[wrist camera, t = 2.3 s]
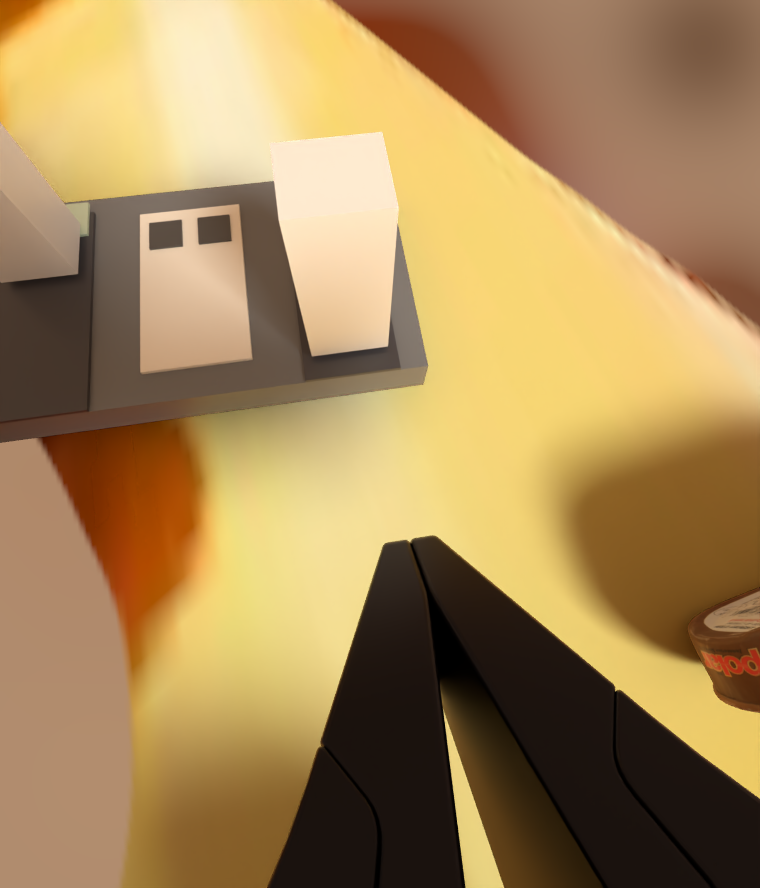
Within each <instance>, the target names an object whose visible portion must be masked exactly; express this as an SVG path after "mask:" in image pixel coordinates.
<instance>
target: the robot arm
mask: <svg viewBox="0 0 760 888" xmlns="http://www.w3.org/2000/svg"><path fill="white" fill-rule="evenodd" d="M443 709H444V712H445V715H446V718H447V721H448V724H449V727H450V730H451V733H452V736H453V739H454V742H455V745H456V747H457V750H458V753H459V756H460V759H461V762H462V765H463V768H464V771H465V774H466V777H467V780H468V783H469V786H470V789H471V791H472V794H473V797H474V800H475V803H476V806H477V809H478V812H479V815H480V818H481V821H482V824H483V827H484V830H485V833H486V835H487V838H488V841H489V844H490V847H491V850H492V853H493V856H494V859H495V862H496V865H497V868H498V871H499V874H500V877H501V879H502V882H503V885H504V888H760V799H759V798H758V797H757V796H755V795H754V794H752V793H751V792H750V791H748V790H747V789H746V788H744V787H743V786H742V785H740V784H739V783H738V782H736V781H735V780H734V779H732V778H731V777H730V776H728V775H727V774H726V773H724V772H723V771H721V770H720V769H719V768H717V767H716V766H715V765H713V764H712V763H711V762H709V761H708V760H707V759H705V758H704V757H703V756H701V755H700V754H699V753H697V752H696V751H695V750H694V749H692V748H691V747H690V746H689V745H687V744H686V743H685V742H684V741H682V740H681V739H680V738H679V737H677V736H676V735H675V734H674V733H672V732H671V731H670V730H669V729H667V728H666V727H665V726H664V725H662V724H661V723H660V722H659V721H657V720H656V719H655V718H654V717H652V716H651V715H650V714H649V713H648V712H646V711H645V710H644V709H643V708H642V707H640V706H639V705H638V704H637V703H636V702H634V701H633V700H632V699H631V698H630V697H628V696H627V695H626V694H625V693H624V692H622V691H621V690H617V691H616V692H615V686H614V684H613V683H611V682H610V681H609V680H608V679H607V678H605V677H604V676H603V675H602V674H601V673H599V672H598V671H597V670H596V669H595V668H593V667H592V666H591V665H590V664H589V663H587V662H586V661H585V660H584V659H583V658H581V657H580V656H579V655H578V654H577V653H575V652H574V651H573V650H572V649H571V648H569V647H568V646H567V645H566V644H565V643H564V642H562V641H561V640H560V639H559V638H558V637H556V636H555V635H554V634H553V633H552V632H550V631H549V630H548V629H547V628H546V627H544V626H543V625H542V624H541V623H540V622H538V621H537V620H536V619H535V618H534V617H532V616H531V615H530V614H529V613H528V612H526V611H525V610H524V609H523V608H522V607H521V606H519V605H518V604H517V603H516V602H515V601H513V600H512V599H511V598H510V597H509V596H507V595H506V594H505V593H504V592H503V591H501V590H500V589H499V588H498V587H497V586H495V585H494V584H493V583H492V582H491V581H489V580H488V579H487V578H486V577H485V576H483V575H482V574H481V573H480V572H479V571H477V570H476V569H475V568H474V567H473V566H472V565H470V564H469V563H468V562H467V561H466V560H464V559H463V558H462V557H461V556H460V555H458V554H457V553H456V552H455V551H454V550H452V549H451V548H450V547H449V546H448V545H446V544H445V543H444V542H443V541H442V540H440V539H439V538H438V537H436V536H426V537H419V538H414V539H412V540H411V542H409V541H407V540H401V541H394V542H388V543H385V544H384V545H383V547H382V550H381V553H380V556H379V560H378V563H377V566H376V569H375V572H374V575H373V578H372V581H371V585H370V588H369V591H368V594H367V597H366V600H365V603H364V606H363V610H362V613H361V616H360V619H359V622H358V625H357V628H356V631H355V635H354V638H353V641H352V644H351V647H350V650H349V653H348V656H347V660H346V663H345V666H344V669H343V672H342V675H341V678H340V681H339V685H338V688H337V691H336V694H335V697H334V700H333V703H332V706H331V710H330V713H329V716H328V719H327V722H326V725H325V728H324V731H323V735H322V738H321V746H322V747H319V748H318V749H317V752H316V755H315V758H314V762H313V765H312V768H311V771H310V774H309V777H308V780H307V783H306V786H305V789H304V792H303V795H302V798H301V800H300V803H299V806H298V809H297V812H296V815H295V817H294V820H293V823H292V826H291V829H290V832H289V834H288V837H287V840H286V842H285V845H284V847H283V850H282V852H281V855H280V857H279V860H278V862H277V865H276V867H275V869H274V872H273V874H272V877H271V879H270V882H269V884H268V887H267V888H465V880H464V872H463V864H462V856H461V848H460V841H459V833H458V825H457V817H456V809H455V801H454V793H453V785H452V777H451V769H450V761H449V753H448V745H447V737H446V729H445V721H444V713H443Z"/></svg>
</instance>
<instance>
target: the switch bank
mask: <svg viewBox="0 0 760 888" xmlns="http://www.w3.org/2000/svg"><path fill="white" fill-rule="evenodd" d="M64 204H65V205H66V206H67V208H68V209H69V210H70V211H71V213H72V214H73V215H74V217H75V218H76V219H77V220H78V222H79V223H80V242H79V264H78V274H75V275H66V276H57V277H48V278H40V279H31V280H22V281H13V282H5V283H1V282H0V443H2V442H9V441H16V440H23V439H31V438H38V437H45V436H52V435H60V434H67V433H74V432H81V431H89V430H96V429H103V428H111V427H118V426H125V425H132V424H140V423H147V422H154V421H161V420H169V419H176V418H183V417H190V416H198V415H205V414H212V413H219V412H227V411H234V410H241V409H248V408H256V407H263V406H270V405H277V404H285V403H292V402H299V401H306V400H314V399H321V398H328V397H335V396H343V395H350V394H357V393H364V392H372V391H379V390H386V389H393V388H401V387H408V386H415V385H422V384H423V383H424V380H425V376H426V372H427V368H428V363H427V359H426V354H425V349H424V345H423V340H422V335H421V330H420V326H419V321H418V316H417V312H416V307H415V302H414V298H413V293H412V288H411V284H410V279H409V274H408V270H407V265H406V260H405V256H404V251H403V246H402V241H401V237H400V232H399V227H398V223H397V235H396V248H395V261H394V274H393V287H392V300H391V313H390V326H389V339H388V347H380V348H373V349H365V350H358V351H350V352H342V353H335V354H327V355H319V356H312V355H311V351H310V347H309V342H308V338H307V334H306V330H305V326H304V322H303V318H302V314H301V310H300V306H299V302H298V297H297V293H296V289H295V285H294V281H293V277H292V273H291V269H290V265H289V261H288V256H287V252H286V248H285V244H284V240H283V236H282V232H281V228H280V224H279V218H278V210H277V201H276V193H275V184H274V181H272V182H262V183H252V184H243V185H233V186H223V187H214V188H204V189H194V190H185V191H175V192H166V193H156V194H146V195H137V196H127V197H117V198H108V199H98V200H89V201H79V202H69V203H64Z"/></svg>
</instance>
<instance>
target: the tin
mask: <svg viewBox="0 0 760 888" xmlns="http://www.w3.org/2000/svg"><path fill="white" fill-rule="evenodd" d="M688 633H689V636H690V639H691V641H692V643H693V646H694V648H695V650H696V652H697V654H698V656H699V657H700V659H701V661H702V663H703V665H704V667H705V669H706V671H707V672H708V674H709V676H710V678H711V680H712V682H713V689H714V692H715V694H716V695H717V697H718V698H719V699H720V700H722V701H723V702H725V703H726V704H728V705H731V706H734V707H736V708H739V709H742V710H746V711H752V712H758V713H760V587H759V588H757V589H754V590H752V591H749V592H747V593H744V594H741V595H739V596H736V597H734V598H731V599H729V600H726V601H724V602H722V603H720V604H718V605H715V606H713V607H711V608H709V609H707V610H705V611H703V612H702V613H700V614H698V615H697V616H696V617H694V618H693V619H692V620H691V621H690V623H689V625H688Z"/></svg>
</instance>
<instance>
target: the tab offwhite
mask: <svg viewBox="0 0 760 888" xmlns="http://www.w3.org/2000/svg"><path fill="white" fill-rule="evenodd" d="M270 150H271V158H272V167H273V176H274V184H275V193H276V201H277V210H278V218H279V224H280V228H281V232H282V236H283V240H284V244H285V248H286V252H287V256H288V261H289V265H290V269H291V273H292V277H293V281H294V285H295V289H296V293H297V297H298V302H299V306H300V310H301V314H302V318H303V322H304V326H305V330H306V334H307V338H308V342H309V347H310V351H311V355H312V356H319V355H327V354H335V353H342V352H350V351H358V350H365V349H373V348H380V347H388V339H389V326H390V313H391V300H392V287H393V274H394V261H395V248H396V235H397V222H398V209H399V207H398V202H397V198H396V193H395V189H394V184H393V179H392V175H391V170H390V165H389V161H388V156H387V152H386V147H385V142H384V138H383V133H382V132H377V133H366V134H356V135H346V136H336V137H326V138H315V139H305V140H295V141H285V142H275V143H270Z"/></svg>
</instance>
